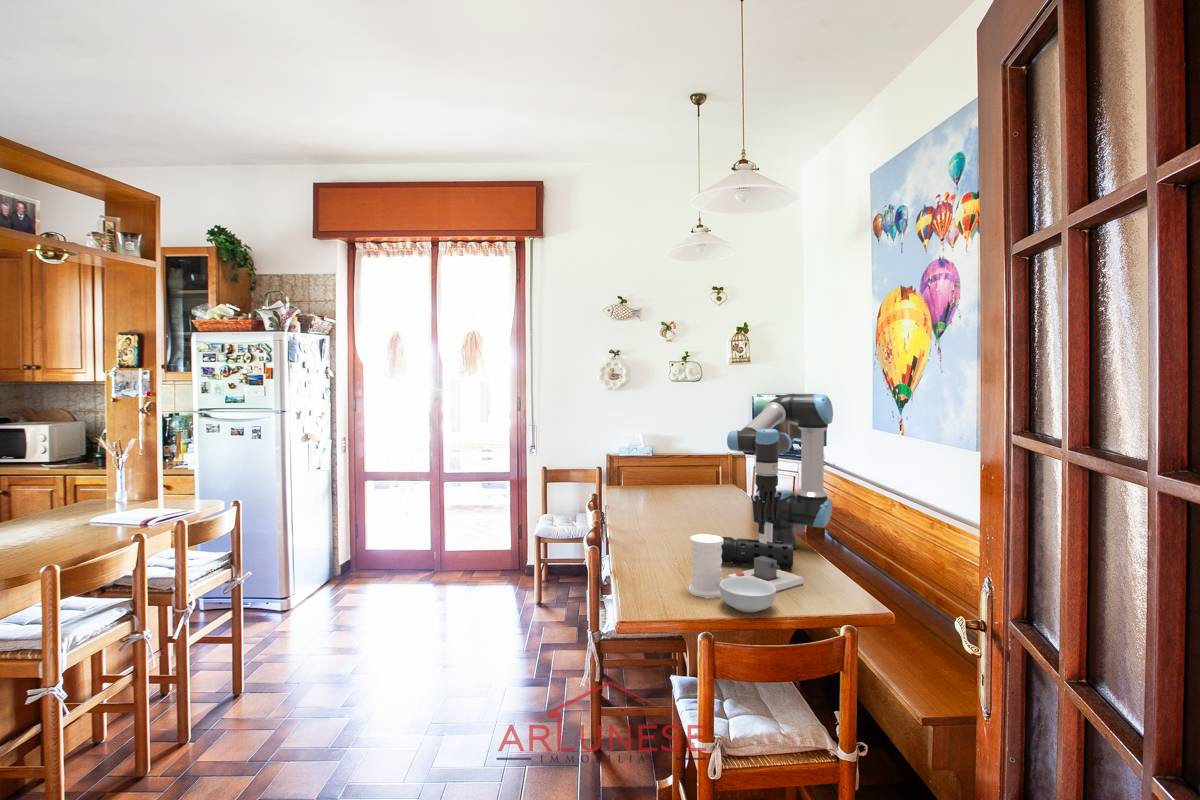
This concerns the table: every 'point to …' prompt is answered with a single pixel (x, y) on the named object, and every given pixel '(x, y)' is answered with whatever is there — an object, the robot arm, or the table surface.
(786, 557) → the muzzle brake
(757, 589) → the cereal bowl
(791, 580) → the socket plate
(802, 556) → the table surface
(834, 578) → the table surface
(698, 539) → the decorative container
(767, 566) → the plug
